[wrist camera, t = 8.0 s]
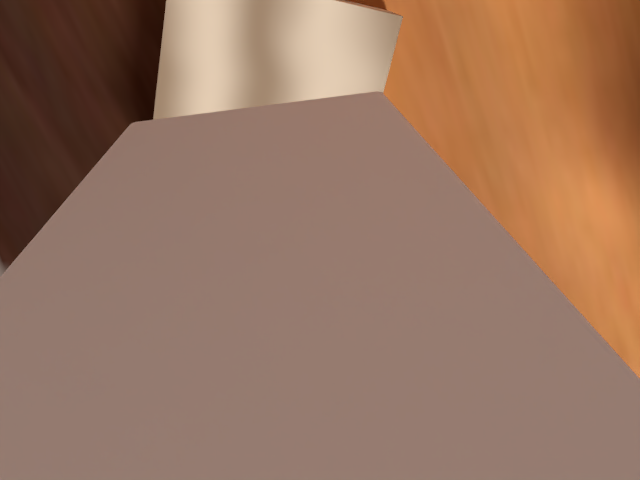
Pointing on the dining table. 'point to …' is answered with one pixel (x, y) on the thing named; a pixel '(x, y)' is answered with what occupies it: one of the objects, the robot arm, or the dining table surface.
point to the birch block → (269, 53)
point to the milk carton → (297, 317)
